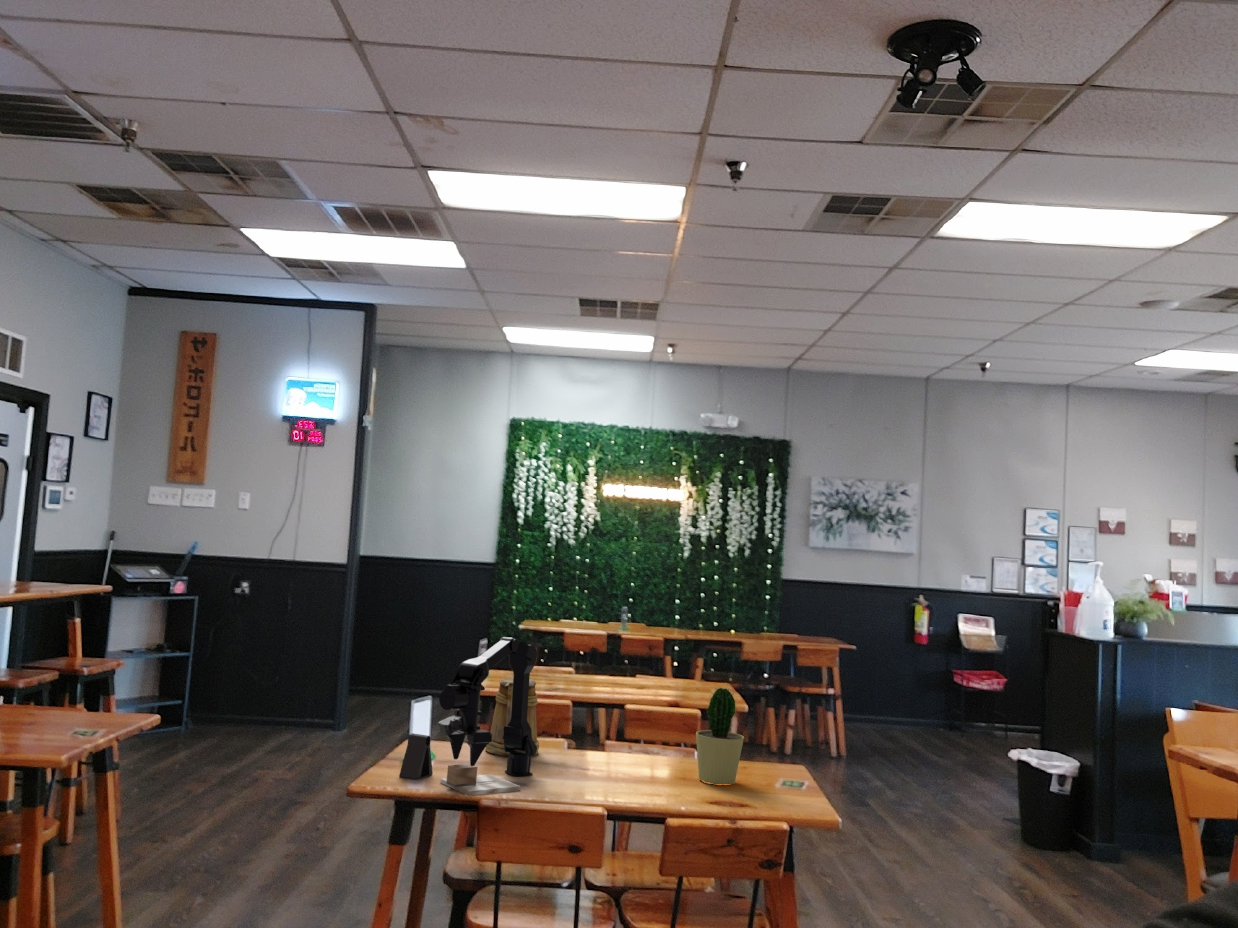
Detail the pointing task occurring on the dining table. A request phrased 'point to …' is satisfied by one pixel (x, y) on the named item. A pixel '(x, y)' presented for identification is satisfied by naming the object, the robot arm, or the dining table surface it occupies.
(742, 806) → the dining table surface
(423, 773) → the phone stand
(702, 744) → the potted cactus
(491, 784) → the board
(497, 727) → the tankard
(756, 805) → the dining table surface
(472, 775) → the block
